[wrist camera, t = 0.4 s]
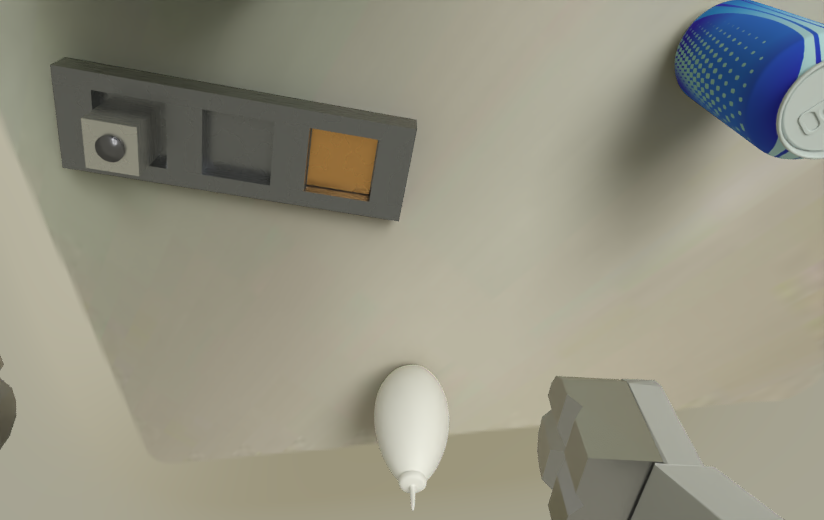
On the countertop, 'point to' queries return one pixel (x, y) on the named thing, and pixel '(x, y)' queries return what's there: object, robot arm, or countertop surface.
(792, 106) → the beer can
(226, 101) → the grey compartment tray
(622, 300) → the countertop surface
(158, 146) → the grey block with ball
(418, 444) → the white teardrop vase
